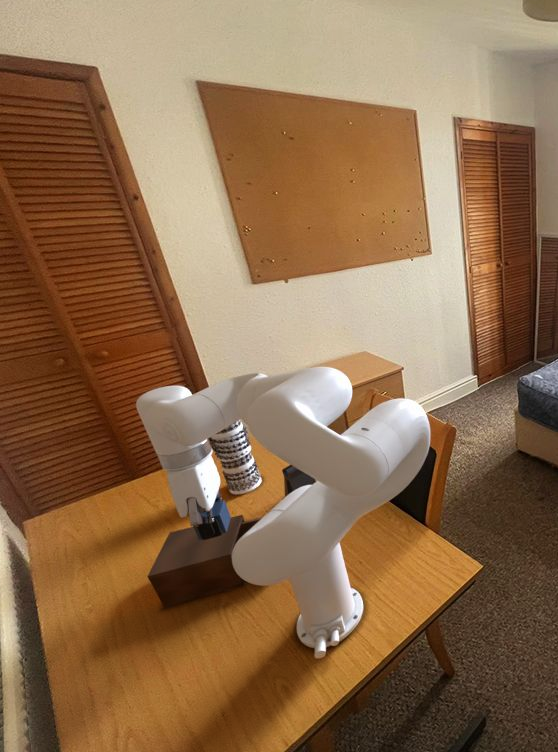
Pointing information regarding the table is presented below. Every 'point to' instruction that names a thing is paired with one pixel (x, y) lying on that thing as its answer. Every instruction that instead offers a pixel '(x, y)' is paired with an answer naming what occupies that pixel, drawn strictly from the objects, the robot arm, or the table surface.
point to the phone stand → (295, 479)
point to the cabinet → (195, 565)
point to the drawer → (247, 527)
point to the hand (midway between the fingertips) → (215, 526)
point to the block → (218, 516)
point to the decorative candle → (236, 458)
